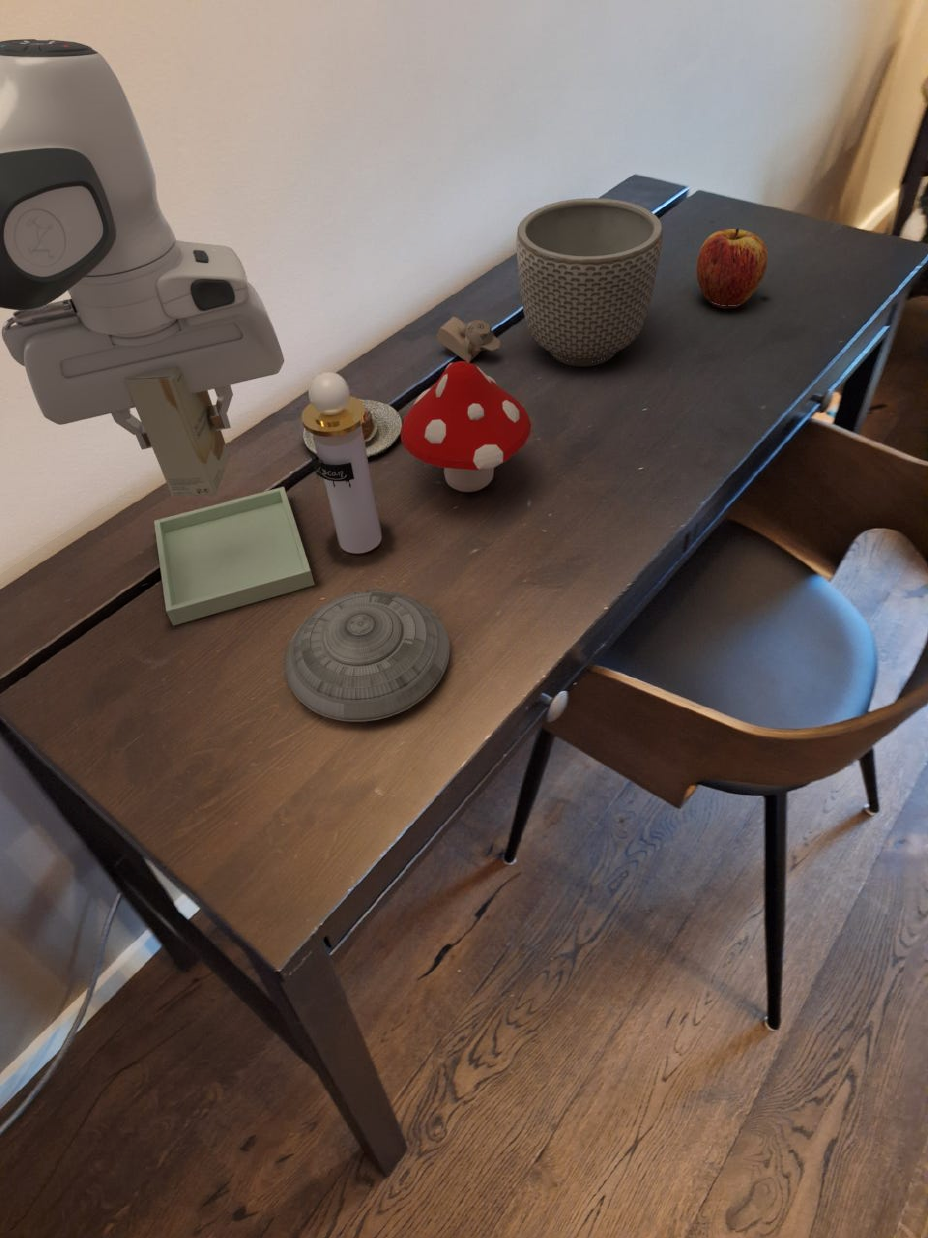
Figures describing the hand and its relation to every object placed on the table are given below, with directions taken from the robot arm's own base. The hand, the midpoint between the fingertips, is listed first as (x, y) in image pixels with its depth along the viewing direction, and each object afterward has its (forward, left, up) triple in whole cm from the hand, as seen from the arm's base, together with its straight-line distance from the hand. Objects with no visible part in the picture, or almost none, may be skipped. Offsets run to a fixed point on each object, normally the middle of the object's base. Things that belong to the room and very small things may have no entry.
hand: (187, 435), depth 73 cm
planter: (+50, +22, -16) cm, 57 cm away
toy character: (+36, +27, -16) cm, 48 cm away
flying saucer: (+10, -19, -16) cm, 26 cm away
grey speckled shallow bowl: (+17, +16, -16) cm, 28 cm away
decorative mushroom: (+27, +2, -16) cm, 31 cm away
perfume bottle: (+13, -3, -16) cm, 21 cm away
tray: (0, 0, -16) cm, 16 cm away
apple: (+73, +25, -16) cm, 79 cm away
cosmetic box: (0, 0, -5) cm, 5 cm away
